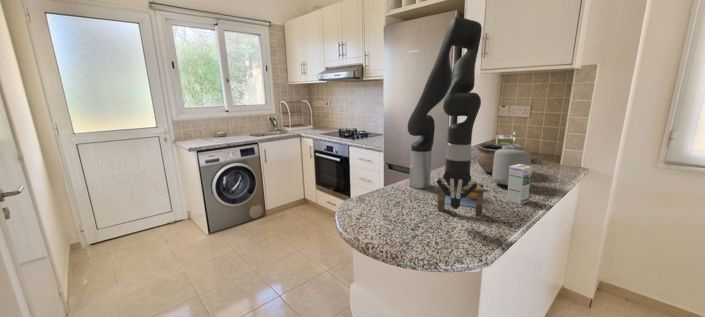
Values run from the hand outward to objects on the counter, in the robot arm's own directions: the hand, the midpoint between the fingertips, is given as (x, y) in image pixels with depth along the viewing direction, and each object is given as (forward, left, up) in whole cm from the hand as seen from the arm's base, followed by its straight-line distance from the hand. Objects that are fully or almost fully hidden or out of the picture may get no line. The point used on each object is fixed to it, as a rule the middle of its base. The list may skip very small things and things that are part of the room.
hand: (455, 208), depth 97 cm
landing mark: (+1, +25, -6) cm, 26 cm away
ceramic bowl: (+14, +74, -6) cm, 75 cm away
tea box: (+18, +110, -6) cm, 112 cm away
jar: (+19, +53, -6) cm, 56 cm away
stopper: (+1, +41, -6) cm, 41 cm away
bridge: (+1, +11, -6) cm, 12 cm away
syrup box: (+21, +31, -6) cm, 38 cm away
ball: (+5, +28, -3) cm, 28 cm away
